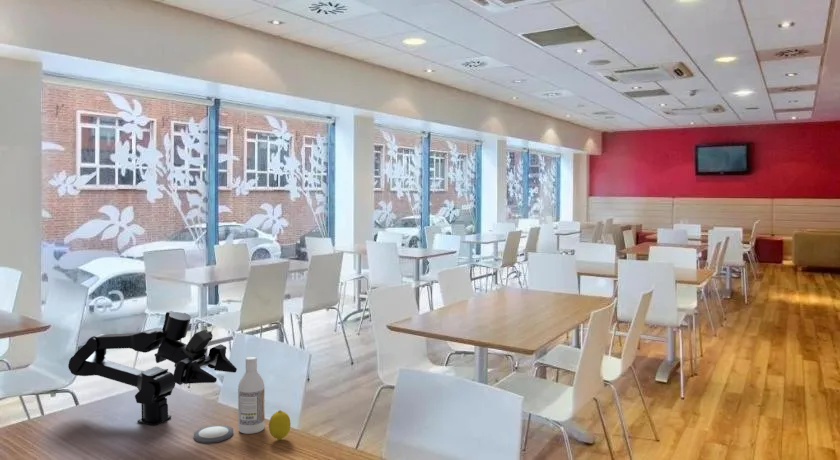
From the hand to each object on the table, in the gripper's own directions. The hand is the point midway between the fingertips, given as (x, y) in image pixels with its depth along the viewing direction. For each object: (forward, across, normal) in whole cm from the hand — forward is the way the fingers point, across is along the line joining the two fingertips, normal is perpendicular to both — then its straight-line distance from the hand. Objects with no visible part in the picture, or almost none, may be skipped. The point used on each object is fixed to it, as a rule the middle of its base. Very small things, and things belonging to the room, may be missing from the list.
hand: (226, 375), depth 163 cm
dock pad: (+3, -3, +15) cm, 16 cm away
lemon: (+20, -1, +10) cm, 23 cm away
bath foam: (+10, +3, +13) cm, 17 cm away
